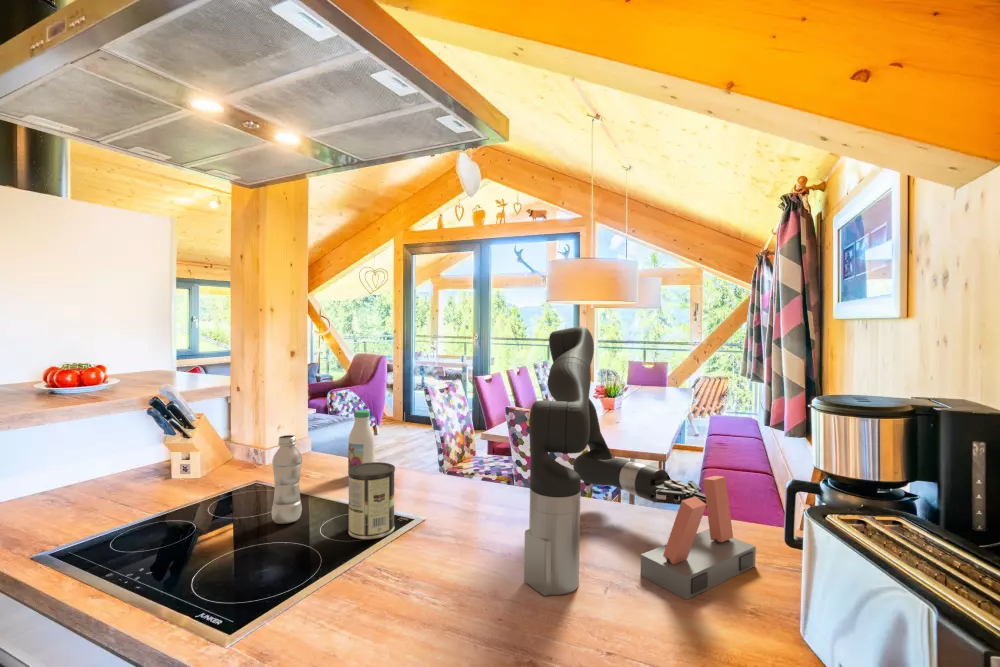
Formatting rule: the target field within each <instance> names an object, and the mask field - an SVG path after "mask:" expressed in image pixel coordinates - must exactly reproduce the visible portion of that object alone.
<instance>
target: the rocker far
mask: <svg viewBox="0 0 1000 667" xmlns="http://www.w3.org/2000/svg"><path fill="white" fill-rule="evenodd" d="M702 479H703V487H704V494H705V497H706V504H707V508H706V510H707V511H706V512H707V520H708V521H707V522H708V527H709V528H708V529H710V537H711V540H714V542H715V543H719V542H724V541H726V540H728V539H731V538H734V535H733V525H732V517H731V510H730V502H729V501H730V500H729V495H728V494H729V493H728V486H727V478H726V476H721V475H713V476H709V477H705V478H702Z"/></svg>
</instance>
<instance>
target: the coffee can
mask: <svg viewBox="0 0 1000 667" xmlns="http://www.w3.org/2000/svg"><path fill="white" fill-rule="evenodd" d="M347 469H348V468H347ZM395 471H396V467H395V465H393V464H391V463H388V462H383V461H382V462H381V461H380V462H379V461H377V462H371V463H363V464H358V465H355V466H353V467H351V468H349V469H348V470H347V475H348V474H349V476H348V531H347V532H348V534H349V536H350V537H352V538H354V539H359V540H374V539H379V538H383V537H386V536H389V535H390V534H392V533H393V532H394V531H395V528H396V527H395Z"/></svg>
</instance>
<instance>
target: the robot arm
mask: <svg viewBox="0 0 1000 667" xmlns="http://www.w3.org/2000/svg"><path fill="white" fill-rule="evenodd" d="M594 343H595V342H594V338H593V335H592V333H591V331H590V330H589V329H588V328H587V327H585V326H574V327H569V328H565V329H559V330H555V331H551V333H550V334H549V338H548V345H549V350H550V351H549V352H550V355H551V359H552V360H551V361H552V365H551V366H550V368H549V373H548V377H547V383H546V384H547V389H548V392H549V394H550V395H551V398H553V400H536V401H534V402H533V404H532V405H531V407H530V412H529V421H528V426H529V428H528V432H529V458H530V459H529V460H530V464H529V467H530V468H529V525H528V529H525V530H524V550H523V551H524V555H523V556H524V559H523V560H524V563H523V564H524V565H523V568H524V570H523V581H524V582H525V583H526V584H527V585H529V586H530V587H532V588H533V589H534V590H536V591H537V592H538V593H540V594H541V595H542V596H544V597H546V596H549V595H555V596H556V595H557V596H559V595H565V594H566V595H567V594H570V593H573V592H575V590H577V588H579V585H580V550H581V549H580V548H581V547H580V539H581V499H582V498H581V495H582V491H581V490H582V488H581V487H582V481H583V482H584V483H586V484H591V485H599V486H609V487H610V486H612V487H614V488H617V489H620V490H623V491H625V492H627V493H629V494H630V495H633V496H636V497H638V498H639V497H640V498H642V499H644V500H647V501H650V502H652V503H655V504H656V503H659V504H670V505H677V506H680V504H681V501H682V500H685V499H689V498H692V497H697V498H698V499H700V500H701V501H703V502H704V503H705V504H706V497H705V493H703V492H701V491H702V488H701V487H700V486H699V485H698V484H697V483H696V482H695V481H694V480H688V481H687V483H684V482H681V481H680V480H679V479H676V478H671V476H670V475H669V473H668V472H667V471H666V470H665V469H662V468H659V467H656V466H652V465H649V464H645V463H641V462H636V461H635V462H634V461H630V460H628V459H624V458H619V457H613V455H612V452H611V450H610V449H609V447H608V445H607V443H606V440H605V438H604V436H603V434H602V432H601V428H600V422H599V417H598V413H597V408H596V406H595V404H594V403H593V401H592V400H591V399H590V390H591V382H592V381H591V380H592V373H591V371H592V369H591V366H592V362H593V358H594V352H595V345H594ZM587 446H588V448H589V451H587V452H584V451H585V450H586V448H587ZM582 452H584V453H582ZM549 453H557V454H559V453H560V454H579V453H582V454H579V455H578V456H577V457H576V458H575V459H574V460H573V466H572V467H573V468H570V467H568V466H565V465H563V464H561V463H559V462H558V461H556V459H554V458H552V456H551V455H550V454H549ZM705 509H707V505H706V507H705Z"/></svg>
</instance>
